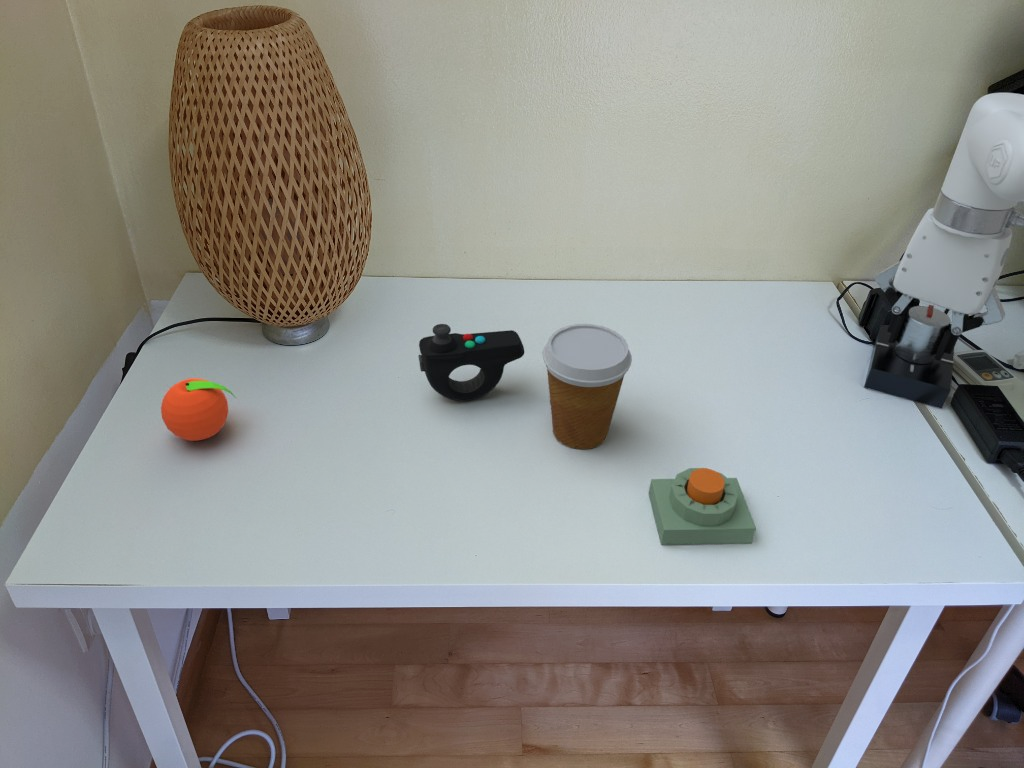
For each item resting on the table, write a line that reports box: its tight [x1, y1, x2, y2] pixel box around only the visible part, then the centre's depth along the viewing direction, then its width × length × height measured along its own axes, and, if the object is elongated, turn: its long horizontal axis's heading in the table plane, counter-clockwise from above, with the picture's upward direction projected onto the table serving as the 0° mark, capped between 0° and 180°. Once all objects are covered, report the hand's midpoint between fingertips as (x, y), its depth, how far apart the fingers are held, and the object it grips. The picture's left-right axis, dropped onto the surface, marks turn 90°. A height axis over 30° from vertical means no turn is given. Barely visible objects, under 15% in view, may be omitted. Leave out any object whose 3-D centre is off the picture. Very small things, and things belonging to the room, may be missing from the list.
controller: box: [418, 323, 525, 401], centre depth 91 cm, size 4×12×10 cm, turn 102°
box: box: [648, 467, 757, 546], centre depth 78 cm, size 9×7×4 cm
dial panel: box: [863, 324, 955, 410], centre depth 98 cm, size 12×9×3 cm
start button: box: [687, 467, 725, 505], centre depth 76 cm, size 3×3×2 cm
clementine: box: [160, 377, 237, 442], centre depth 86 cm, size 8×7×7 cm
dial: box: [894, 304, 952, 364], centre depth 96 cm, size 5×5×6 cm
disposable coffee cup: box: [542, 323, 633, 450], centre depth 85 cm, size 10×10×12 cm
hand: (917, 345), depth 97 cm, fingers closed on dial, 4 cm apart
